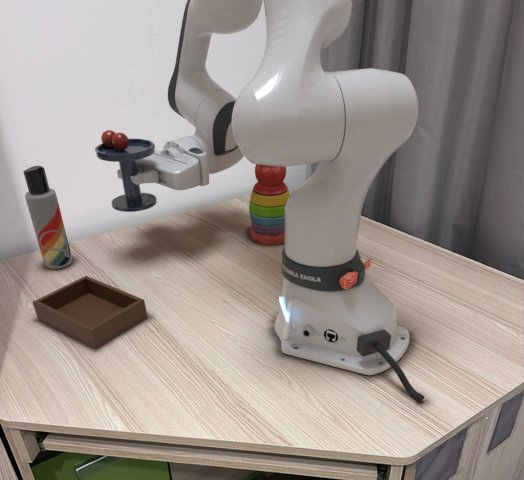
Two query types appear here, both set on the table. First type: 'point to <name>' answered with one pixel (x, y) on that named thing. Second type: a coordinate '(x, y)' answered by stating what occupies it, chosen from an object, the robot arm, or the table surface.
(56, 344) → the table surface
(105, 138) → the ball
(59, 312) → the walnut tray
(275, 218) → the stacking bear
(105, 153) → the footed dish
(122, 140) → the ball
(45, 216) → the lotion bottle
